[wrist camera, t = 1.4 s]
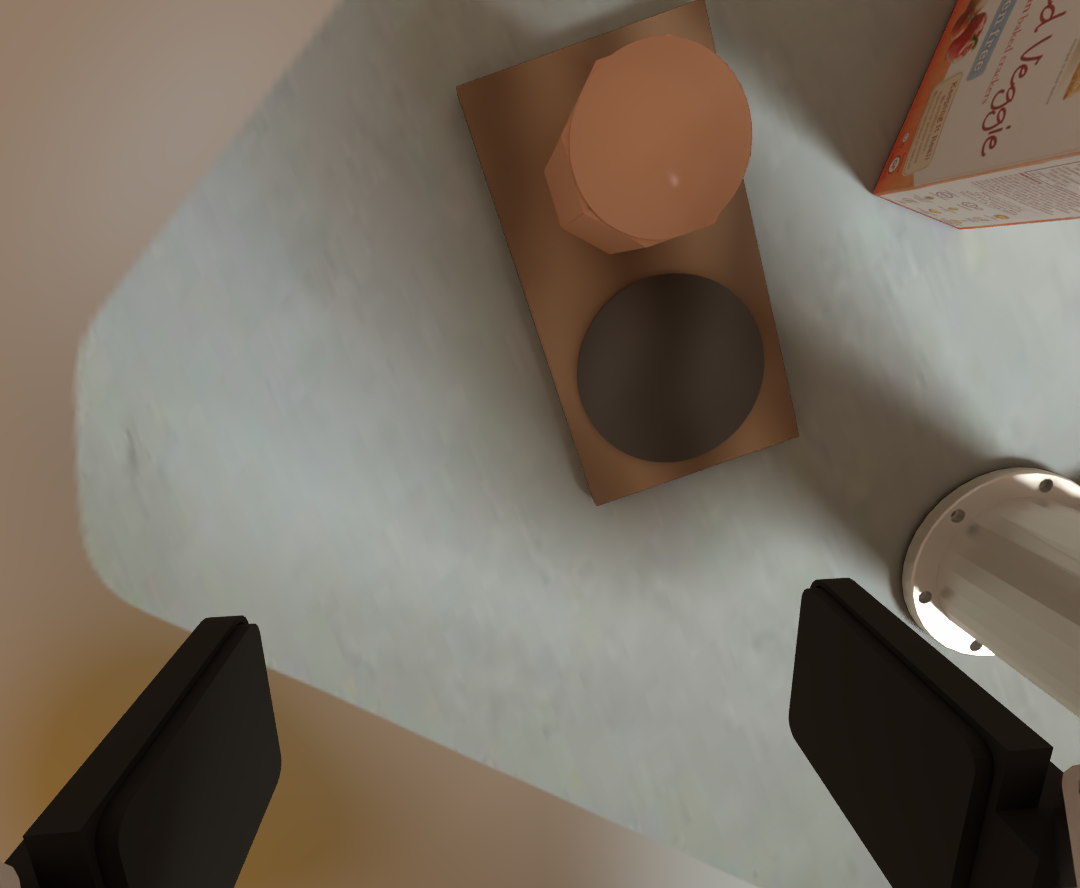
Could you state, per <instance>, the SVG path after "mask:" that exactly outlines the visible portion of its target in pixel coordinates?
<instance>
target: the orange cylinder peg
mask: <svg viewBox="0 0 1080 888" xmlns="http://www.w3.org/2000/svg"><path fill="white" fill-rule="evenodd" d="M751 144H752V122H751V115H750V110H749V106H748V102H747V99H746V96H745V94H744V91H743V89H742V86H741V84H740V83H739V81H738V79H737V77H736V76H735V74H734V73H733V72H732V70H731V69H730V68H729V66H728V65H727V64H726V63H725V62H724V61H723V60H722V59H721V58H720V57H719V56H718V55H716V54H715V53H714V52H712V51H711V50H710V49H708V48H706V47H705V46H703V45H701V44H699V43H697V42H694V41H691V40H688V39H685V38H680V37H675V36H672V35H666V36H657V37H649V38H645V39H642V40H638V41H635V42H633V43H631V44H628V45H626V46H624V47H623V48H621V49H620V50H618V51H616V52H615V53H613V54H612V55H610V56H607V57H604V58H601V59H599V60H596V62H595V64H594V66H593V68H592V70H591V72H590V74H589V76H588V78H587V80H586V82H585V84H584V86H583V88H582V90H581V92H580V94H579V97H578V99H577V101H576V103H575V105H574V107H573V109H572V111H571V113H570V115H569V117H568V119H567V122H566V124H565V126H564V128H563V130H562V132H561V135H560V137H559V139H558V141H557V143H556V146H555V148H554V150H553V152H552V154H551V156H550V159H549V161H548V163H547V165H546V167H545V170H544V174H545V177H546V180H547V184H548V187H549V190H550V193H551V197H552V200H553V203H554V206H555V210H556V213H557V216H558V219H559V223H560V226H561V228H562V229H563V230H565V231H567V232H569V233H571V234H573V235H574V236H576V237H578V238H580V239H582V240H584V241H586V242H587V243H589V244H591V245H593V246H595V247H597V248H599V249H601V250H602V251H604V252H606V253H608V254H614V253H620V252H625V251H630V250H636V249H641V248H646V247H650V246H652V245H655V244H658V243H661V242H664V241H667V240H669V239H672V238H675V237H678V236H682V235H685V234H688V233H690V232H692V231H695V230H698V229H701V228H703V227H706V226H709V225H712V224H714V223H715V221H716V220H717V218H718V216H719V214H720V212H721V211H722V210H723V209H724V208H725V207H726V205H727V204H728V203H729V201H730V200H731V199H732V197H733V196H734V194H735V193H736V191H737V189H738V188H739V186H740V183H741V181H742V179H743V177H744V175H745V171H746V168H747V165H748V162H749V157H750V155H751Z"/></svg>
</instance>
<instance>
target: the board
mask: <svg viewBox="0 0 1080 888" xmlns="http://www.w3.org/2000/svg"><path fill="white" fill-rule="evenodd" d="M666 35H672V36H675V37H680V38H685V39H688V40H691V41H694V42H697V43H699V44H701V45H703V46H705V47H706V48H708V49H710V50H711V51H712V52H714V53H715V54H716V51H715V47H714V42H713V38H712V33H711V29H710V24H709V19H708V15H707V10H706V6H705V1H704V0H697V1H694V2H691V3H689V4H686V5H683V6H680V7H677V8H675V9H672V10H669V11H666V12H663V13H661V14H658V15H655V16H652V17H649V18H647V19H644V20H641V21H638V22H635V23H633V24H630V25H627V26H624V27H622V28H619V29H616V30H613V31H610V32H608V33H605V34H602V35H599V36H596V37H594V38H591V39H588V40H585V41H582V42H580V43H577V44H574V45H571V46H569V47H566V48H563V49H560V50H557V51H555V52H552V53H549V54H546V55H543V56H541V57H538V58H535V59H532V60H529V61H527V62H524V63H521V64H518V65H515V66H513V67H510V68H507V69H504V70H502V71H499V72H496V73H493V74H490V75H488V76H485V77H482V78H479V79H476V80H474V81H471V82H468V83H465V84H462V85H460V86H457V87H456V89H457V94H458V97H459V100H460V103H461V106H462V109H463V112H464V115H465V118H466V121H467V124H468V127H469V130H470V133H471V136H472V139H473V142H474V145H475V148H476V151H477V154H478V157H479V160H480V163H481V166H482V169H483V172H484V175H485V178H486V181H487V184H488V187H489V190H490V193H491V196H492V199H493V202H494V205H495V208H496V211H497V214H498V217H499V220H500V223H501V226H502V229H503V232H504V235H505V238H506V240H507V243H508V246H509V249H510V252H511V255H512V258H513V261H514V264H515V267H516V270H517V273H518V276H519V279H520V282H521V285H522V288H523V291H524V294H525V297H526V300H527V303H528V306H529V309H530V312H531V315H532V318H533V321H534V324H535V327H536V330H537V333H538V336H539V339H540V342H541V345H542V348H543V351H544V354H545V357H546V360H547V363H548V366H549V369H550V372H551V375H552V378H553V381H554V384H555V387H556V390H557V393H558V396H559V399H560V402H561V405H562V408H563V411H564V414H565V417H566V420H567V423H568V425H569V428H570V431H571V434H572V437H573V440H574V443H575V446H576V449H577V452H578V455H579V458H580V461H581V464H582V467H583V470H584V473H585V476H586V479H587V482H588V485H589V488H590V491H591V494H592V497H593V500H594V502H595V504H596V506H599V505H602V504H605V503H607V502H610V501H613V500H616V499H619V498H622V497H625V496H628V495H630V494H633V493H636V492H639V491H642V490H645V489H648V488H651V487H654V486H656V485H659V484H662V483H665V482H668V481H671V480H674V479H677V478H680V477H682V476H685V475H688V474H691V473H694V472H697V471H700V470H703V469H706V468H708V467H711V466H714V465H717V464H720V463H723V462H726V461H729V460H732V459H734V458H737V457H740V456H743V455H746V454H749V453H752V452H755V451H758V450H760V449H763V448H766V447H769V446H772V445H775V444H778V443H781V442H784V441H786V440H789V439H792V438H795V437H798V436H799V433H798V428H797V424H796V419H795V414H794V410H793V405H792V401H791V396H790V391H789V387H788V382H787V378H786V373H785V368H784V364H783V359H782V355H781V350H780V345H779V341H778V336H777V332H776V327H775V323H774V318H773V313H772V309H771V304H770V300H769V295H768V290H767V286H766V281H765V277H764V272H763V267H762V263H761V258H760V254H759V249H758V244H757V240H756V235H755V231H754V226H753V221H752V217H751V212H750V208H749V203H748V198H747V194H746V189H745V185H744V180H743V179H742V181H741V183H740V186H739V188H738V189H737V191H736V193H735V194H734V196H733V197H732V199H731V200H730V201H729V203H728V204H727V205H726V207H725V208H724V209H723V210H722V211H721V212H720V214H719V216H718V218H717V220H716V221H715V223H714V224H712V225H709V226H706V227H703V228H701V229H698V230H695V231H692V232H690V233H688V234H685V235H682V236H678V237H675V238H672V239H669V240H667V241H664V242H661V243H658V244H655V245H652V246H650V247H646V248H641V249H636V250H630V251H625V252H620V253H614V254H608V253H606V252H604V251H602V250H601V249H599V248H597V247H595V246H593V245H591V244H589V243H587V242H586V241H584V240H582V239H580V238H578V237H576V236H574V235H573V234H571V233H569V232H567V231H565V230H563V229H562V228H561V226H560V223H559V219H558V216H557V213H556V210H555V206H554V203H553V200H552V197H551V193H550V190H549V187H548V184H547V180H546V177H545V174H544V170H545V167H546V165H547V163H548V161H549V159H550V156H551V154H552V152H553V150H554V148H555V146H556V143H557V141H558V139H559V137H560V135H561V132H562V130H563V128H564V126H565V124H566V122H567V119H568V117H569V115H570V113H571V111H572V109H573V107H574V105H575V103H576V101H577V99H578V97H579V94H580V92H581V90H582V88H583V86H584V84H585V82H586V80H587V78H588V76H589V74H590V72H591V70H592V68H593V66H594V64H595V62H596V60H599V59H601V58H604V57H607V56H610V55H612V54H613V53H615V52H616V51H618V50H620V49H621V48H623V47H624V46H626V45H628V44H631V43H633V42H635V41H638V40H642V39H645V38H649V37H657V36H666Z"/></svg>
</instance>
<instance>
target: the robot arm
mask: <svg viewBox="0 0 1080 888" xmlns="http://www.w3.org/2000/svg"><path fill="white" fill-rule="evenodd" d="M902 586H903V594H904V600H905V602H906V605H907V608H908V611H909V613H910V615H911V616H912V618H913V619H914V621H915V622H916V624H917V625H918V626H919V627H920V628H921V629H922V630H923V631H924V632H926V633H927V634H928V635H929V636H930V637H931V638H933V639H934V640H935V641H937V642H938V643H940V644H941V645H942V646H944V647H946V648H948V649H951V650H953V651H956V652H958V653H962V654H967V655H973V656H993V655H996V656H997V657H999V658H1000V659H1001V660H1003V661H1004V662H1005V663H1007V664H1008V665H1009V666H1011V667H1012V668H1013V669H1015V670H1016V671H1017V672H1019V673H1020V674H1021V675H1023V676H1024V677H1025V678H1027V679H1028V680H1029V681H1031V682H1032V683H1033V684H1035V685H1036V686H1037V687H1039V688H1040V689H1041V690H1043V691H1044V692H1045V693H1047V694H1048V695H1049V696H1051V697H1052V698H1053V699H1055V700H1056V701H1057V702H1059V703H1060V704H1061V705H1063V706H1064V707H1065V708H1067V709H1068V710H1069V711H1071V712H1072V713H1073V714H1075V715H1076V716H1077V717H1079V718H1080V485H1078V484H1077V483H1075V482H1074V481H1072V480H1071V479H1068V478H1065V477H1063V476H1060V475H1058V474H1055V473H1052V472H1049V471H1045V470H1041V469H1037V468H1024V467H1014V468H1008V469H1002V470H996V471H993V472H990V473H987V474H984V475H982V476H979V477H976V478H975V479H973V480H971V481H969V482H967V483H965V484H963V485H962V486H960V487H958V488H957V489H956V490H954V491H953V492H952V493H950V494H949V495H948V496H946V497H945V498H944V499H943V500H942V501H941V502H940V503H939V504H938V505H937V506H936V507H935V508H934V509H933V510H932V511H931V512H930V513H929V514H928V515H927V517H926V518H925V520H924V521H923V522H922V524H921V525H920V527H919V528H918V529H917V531H916V533H915V535H914V537H913V539H912V541H911V543H910V546H909V548H908V551H907V555H906V558H905V562H904V565H903V577H902ZM789 725H790V729H791V732H792V735H793V737H794V739H795V741H796V742H797V744H798V745H799V747H800V748H801V750H802V751H803V753H804V754H805V756H806V757H807V759H808V760H809V762H810V763H811V765H812V766H813V768H814V769H815V771H816V772H817V774H818V775H819V777H820V778H821V780H822V781H823V783H824V784H825V786H826V787H827V789H828V791H829V792H830V794H831V795H832V797H833V798H834V800H835V801H836V803H837V804H838V806H839V807H840V809H841V810H842V812H843V813H844V815H845V816H846V818H847V819H848V821H849V822H850V824H851V825H852V827H853V828H854V830H855V831H856V833H857V834H858V836H859V837H860V839H861V841H862V842H863V844H864V845H865V847H866V848H867V850H868V851H869V853H870V854H871V856H872V857H873V859H874V860H875V862H876V863H877V865H878V866H879V868H880V869H881V871H882V872H883V874H884V875H885V877H886V878H887V880H888V881H889V883H890V884H891V886H892V888H1080V765H1075V766H1072V767H1070V768H1069V769H1068V770H1066V771H1065V772H1064V773H1063V772H1062V771H1061V770H1060V769H1058V768H1057V767H1056V766H1055V765H1054V764H1053V763H1052V762H1050V758H1051V755H1052V751H1053V747H1052V746H1051V745H1050V744H1049V743H1048V742H1046V741H1045V740H1044V739H1043V738H1042V737H1040V736H1039V735H1038V734H1037V733H1036V732H1034V731H1033V730H1032V729H1031V728H1030V727H1028V726H1027V725H1026V724H1025V723H1024V722H1022V721H1021V720H1020V719H1019V718H1018V717H1016V716H1015V715H1014V714H1013V713H1012V712H1010V711H1009V710H1008V709H1007V708H1006V707H1004V706H1003V705H1002V704H1001V703H1000V702H998V701H997V700H996V699H995V698H994V697H992V696H991V695H990V694H989V693H988V692H986V691H985V690H984V689H983V688H982V687H980V686H979V685H978V684H977V683H976V682H974V681H973V680H972V679H971V678H970V677H968V676H967V675H966V674H965V673H964V672H963V671H961V670H960V669H959V668H958V667H957V666H955V665H954V664H953V663H952V662H951V661H949V660H948V659H947V658H946V657H945V656H943V655H942V654H941V653H940V652H939V651H937V650H936V649H935V648H934V647H933V646H931V645H930V644H929V643H928V642H927V641H925V640H924V639H923V638H922V637H921V636H919V635H918V634H917V633H916V632H915V631H913V630H912V629H911V628H910V627H909V626H907V625H906V624H905V623H904V622H903V621H901V620H900V619H899V618H898V617H897V616H895V615H894V614H893V613H892V612H891V611H889V610H888V609H887V608H886V607H885V606H883V605H882V604H881V603H880V602H879V601H878V600H876V599H875V598H874V597H873V596H872V595H870V594H869V593H868V592H867V591H866V590H864V589H863V588H862V587H861V586H860V585H858V584H857V583H856V582H855V581H853V580H852V579H850V578H836V579H820V580H815V581H814V582H813V583H812V585H811V587H810V588H809V589H805V590H804V592H803V594H802V599H801V608H800V617H799V626H798V635H797V644H796V653H795V663H794V672H793V681H792V690H791V699H790V708H789ZM280 771H281V754H280V747H279V742H278V735H277V729H276V724H275V718H274V712H273V706H272V700H271V695H270V688H269V683H268V677H267V671H266V665H265V659H264V653H263V647H262V642H261V636H260V631H259V628H258V626H257V625H256V624H249V623H248V621H247V619H246V617H244V616H226V617H210V618H205V619H204V620H203V621H201V623H200V624H199V625H198V626H197V627H196V629H195V630H194V631H193V632H192V633H191V635H190V636H189V637H188V638H187V639H186V641H185V642H184V643H183V644H182V645H181V647H180V648H179V649H178V650H177V652H176V653H175V654H174V655H173V656H172V658H171V659H170V660H169V661H168V662H167V664H166V665H165V666H164V667H163V668H162V670H161V671H160V672H159V673H158V675H157V676H156V677H155V678H154V679H153V680H152V682H151V683H150V684H149V685H148V686H147V688H146V689H145V690H144V691H143V692H142V694H141V695H140V696H139V697H138V698H137V700H136V701H135V702H134V703H133V705H132V706H131V707H130V708H129V709H128V711H127V712H126V713H125V714H124V715H123V716H122V718H121V719H120V720H119V721H118V723H117V724H116V725H115V726H114V727H113V729H112V730H111V731H110V732H109V733H108V735H107V736H106V737H105V738H104V739H103V740H102V742H101V743H100V744H99V746H98V747H97V748H96V749H95V750H94V751H93V753H92V754H91V755H90V756H89V757H88V759H87V760H86V761H85V762H84V763H83V765H82V766H81V767H80V768H79V769H78V771H77V772H76V773H75V774H74V775H73V777H72V778H71V779H70V780H69V781H68V783H67V784H66V785H65V786H64V787H63V789H62V790H61V791H60V792H59V793H58V795H57V796H56V797H55V798H54V800H53V801H52V802H51V803H50V804H49V805H48V807H47V808H46V809H45V810H44V811H43V813H42V814H41V815H40V816H39V817H38V819H37V820H36V821H35V822H34V824H33V825H32V826H31V827H30V828H29V829H28V831H27V832H26V833H25V834H24V835H23V838H24V840H23V841H22V842H21V843H20V845H19V846H18V847H17V848H16V850H15V851H14V852H13V853H12V854H11V856H10V857H9V858H8V859H7V860H6V862H5V863H2V862H0V888H234V886H235V883H236V881H237V879H238V876H239V874H240V871H241V869H242V867H243V864H244V862H245V859H246V857H247V855H248V852H249V850H250V847H251V845H252V843H253V840H254V838H255V835H256V833H257V831H258V828H259V826H260V823H261V821H262V819H263V816H264V814H265V811H266V809H267V806H268V804H269V802H270V799H271V797H272V795H273V792H274V790H275V787H276V785H277V783H278V779H279V776H280Z"/></svg>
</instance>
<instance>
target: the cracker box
mask: <svg viewBox="0 0 1080 888" xmlns="http://www.w3.org/2000/svg"><path fill="white" fill-rule="evenodd" d="M874 195H876V196H879V197H881V198H884V199H886V200H889V201H891V202H893V203H896V204H898V205H901V206H903V207H906V208H908V209H911V210H913V211H916V212H918V213H921V214H923V215H926V216H928V217H931V218H933V219H936V220H938V221H941V222H943V223H946V224H948V225H951V226H953V227H955V228H958V229H972V228H985V227H994V226H1006V225H1016V224H1027V223H1038V222H1049V221H1060V220H1071V219H1080V0H958V1H957V3H956V6H955V8H954V10H953V13H952V15H951V17H950V19H949V22H948V24H947V26H946V28H945V31H944V33H943V35H942V37H941V40H940V42H939V44H938V46H937V49H936V51H935V53H934V56H933V58H932V60H931V63H930V65H929V67H928V69H927V71H926V74H925V76H924V79H923V81H922V83H921V85H920V88H919V90H918V92H917V94H916V97H915V99H914V101H913V103H912V106H911V108H910V110H909V112H908V115H907V117H906V119H905V121H904V124H903V126H902V128H901V130H900V133H899V135H898V137H897V139H896V142H895V145H894V147H893V149H892V151H891V153H890V155H889V158H888V160H887V162H886V164H885V167H884V169H883V171H882V173H881V175H880V178H879V181H878V183H877V185H876V187H875V190H874Z"/></svg>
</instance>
